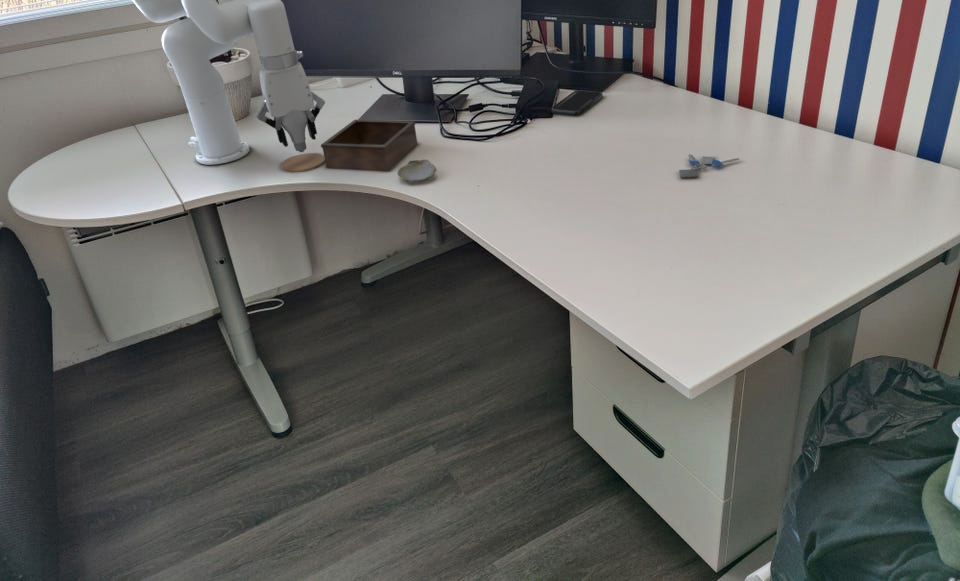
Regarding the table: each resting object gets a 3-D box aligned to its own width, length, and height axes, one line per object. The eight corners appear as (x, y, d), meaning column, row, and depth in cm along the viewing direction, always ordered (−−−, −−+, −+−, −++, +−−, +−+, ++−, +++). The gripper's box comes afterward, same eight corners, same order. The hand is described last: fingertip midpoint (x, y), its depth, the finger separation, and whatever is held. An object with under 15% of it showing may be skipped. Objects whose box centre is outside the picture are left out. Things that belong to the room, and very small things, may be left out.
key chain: (688, 181, 142) (688, 177, 141) (658, 169, 148) (658, 165, 147) (740, 161, 147) (740, 157, 147) (709, 150, 153) (709, 146, 153)
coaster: (273, 170, 168) (272, 169, 168) (296, 153, 176) (296, 152, 175) (311, 173, 164) (310, 171, 164) (333, 155, 172) (332, 154, 172)
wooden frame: (325, 168, 166) (320, 144, 163) (358, 141, 178) (354, 119, 175) (388, 171, 161) (384, 147, 158) (418, 144, 173) (415, 121, 170)
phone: (549, 108, 181) (576, 89, 192) (550, 113, 182) (576, 94, 192) (579, 111, 177) (604, 92, 188) (579, 116, 178) (604, 96, 188)
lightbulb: (317, 153, 167) (306, 105, 161) (290, 159, 165) (278, 111, 159) (312, 144, 172) (301, 98, 166) (286, 151, 170) (274, 104, 164)
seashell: (400, 192, 155) (434, 184, 152) (393, 181, 153) (428, 172, 150) (408, 170, 161) (441, 162, 158) (402, 159, 159) (435, 150, 156)
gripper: (314, 49, 163) (331, 127, 173) (235, 66, 158) (258, 146, 167) (322, 56, 157) (340, 136, 167) (241, 73, 152) (264, 155, 161)
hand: (298, 140), depth 167 cm, fingers closed on lightbulb, 5 cm apart
